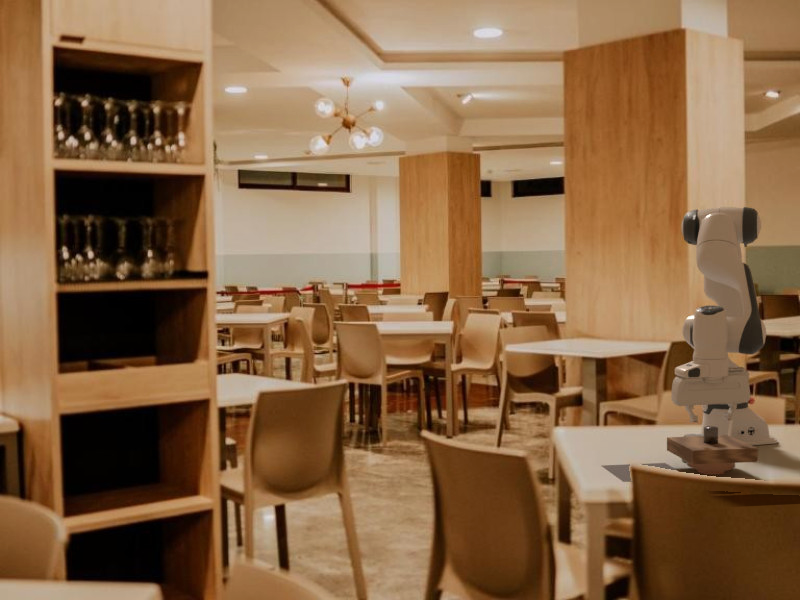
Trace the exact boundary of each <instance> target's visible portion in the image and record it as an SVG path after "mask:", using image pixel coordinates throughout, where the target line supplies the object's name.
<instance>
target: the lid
mask: <svg viewBox="0 0 800 600" xmlns="http://www.w3.org/2000/svg"><path fill="white" fill-rule="evenodd" d="M758 450H759V448H758V447H756V446H755V445H752V446H751V445H749V444H747V443H744V442H742V441H740V440H737V439H735V438H733V437H730V436H728V435H720V436H718V427H714V426H705V427H704V436H692V437H683V436H672V437H671V436H670V437H666V451H667V452H668V453H671V454H673V455H674V456H676V457H679V458H680V459H681V458H682V459H684V460H686V461H688V462H689V463H691V464H717V463H735V464H736V463H740V464H741V463H757V462H759V461H758V459H759V457H758V453H759V452H758ZM682 459H681V460H682Z"/></svg>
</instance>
